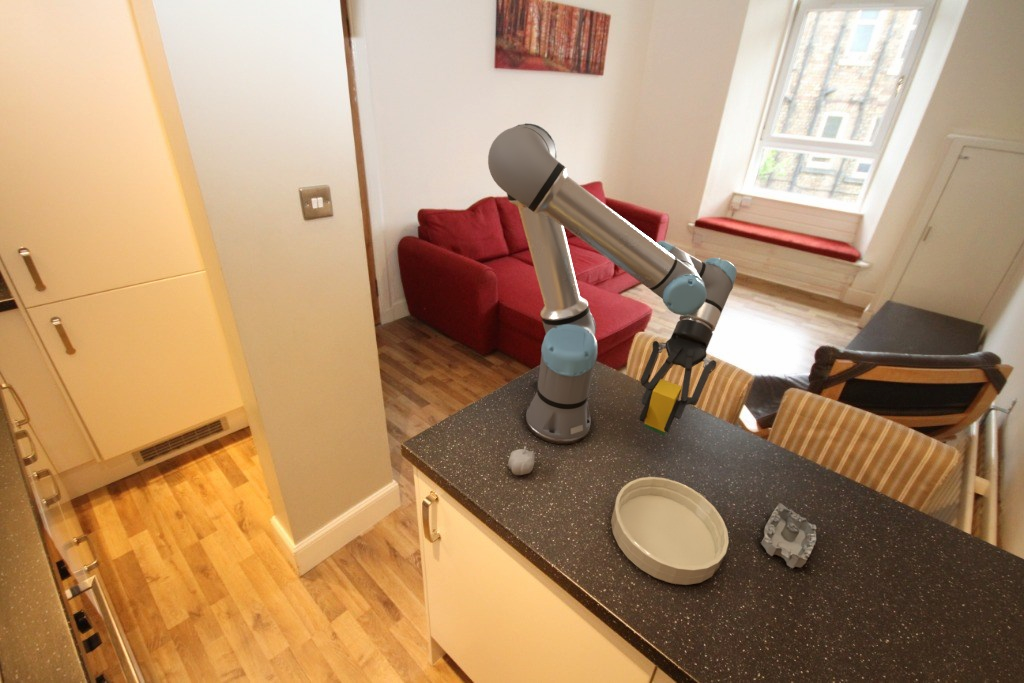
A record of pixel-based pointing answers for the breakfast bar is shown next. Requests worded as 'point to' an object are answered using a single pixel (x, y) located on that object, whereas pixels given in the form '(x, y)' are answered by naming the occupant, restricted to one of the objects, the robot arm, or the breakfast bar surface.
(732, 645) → the breakfast bar surface
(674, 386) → the sponge
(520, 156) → the robot arm
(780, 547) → the egg carton
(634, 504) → the pan
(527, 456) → the garlic
